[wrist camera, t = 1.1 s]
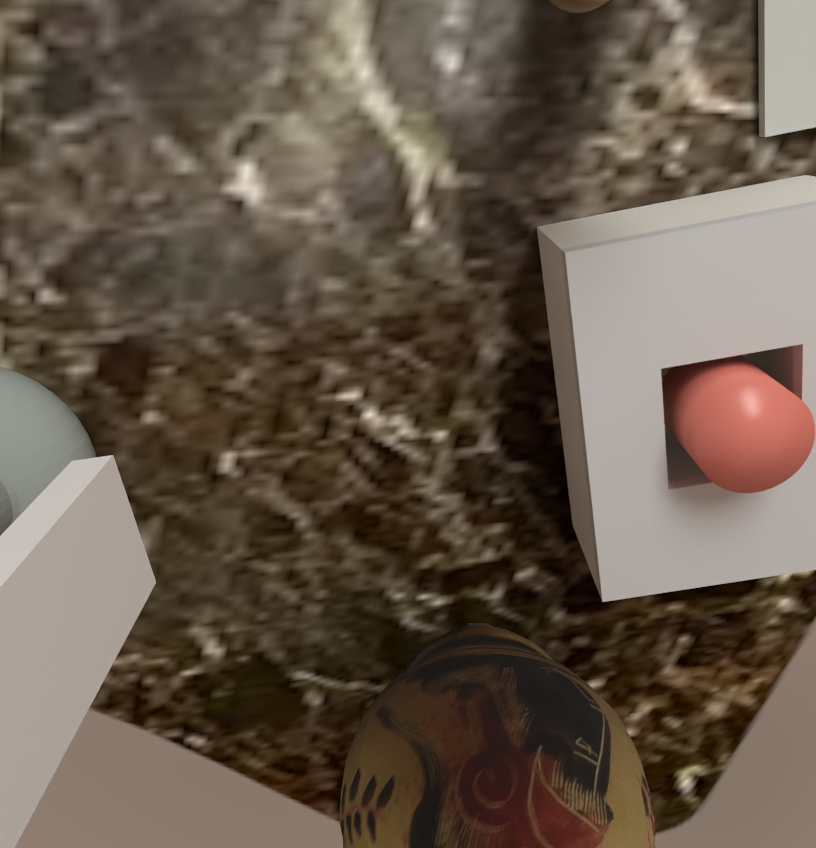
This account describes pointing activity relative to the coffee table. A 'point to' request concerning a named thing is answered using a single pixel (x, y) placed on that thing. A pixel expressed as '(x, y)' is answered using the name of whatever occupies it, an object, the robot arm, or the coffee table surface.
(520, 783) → the ceramic jug
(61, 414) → the air freshener
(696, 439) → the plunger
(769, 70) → the pad
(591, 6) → the tan wooden rod
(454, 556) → the coffee table surface
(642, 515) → the box
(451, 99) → the coffee table surface
